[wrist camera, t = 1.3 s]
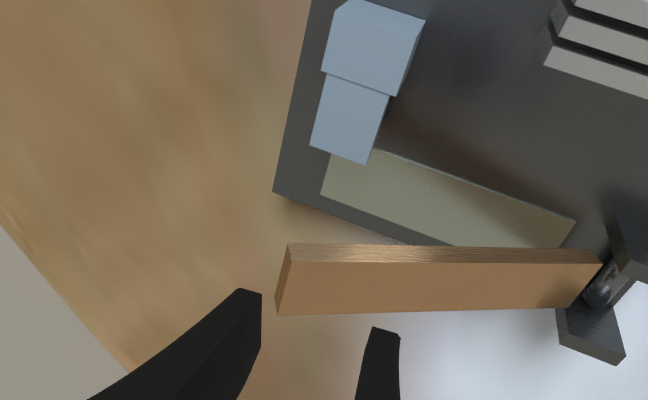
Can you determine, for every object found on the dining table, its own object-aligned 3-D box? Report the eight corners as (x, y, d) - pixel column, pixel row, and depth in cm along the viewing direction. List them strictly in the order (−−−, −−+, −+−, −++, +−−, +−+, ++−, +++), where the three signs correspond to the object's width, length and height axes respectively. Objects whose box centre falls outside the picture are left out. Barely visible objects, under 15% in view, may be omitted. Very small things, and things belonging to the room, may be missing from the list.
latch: (425, 20, 15) (416, 37, 13) (383, 141, 18) (370, 168, 16) (353, -4, 15) (335, 10, 14) (321, 119, 18) (302, 143, 16)
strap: (633, 246, 17) (649, 263, 16) (595, 292, 18) (608, 309, 18) (288, 239, 13) (293, 260, 13) (273, 297, 15) (277, 319, 14)
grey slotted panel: (806, 26, 14) (913, 75, 10) (594, 284, 20) (614, 370, 17) (352, -111, 15) (306, -110, 12) (288, 169, 22) (247, 225, 18)
